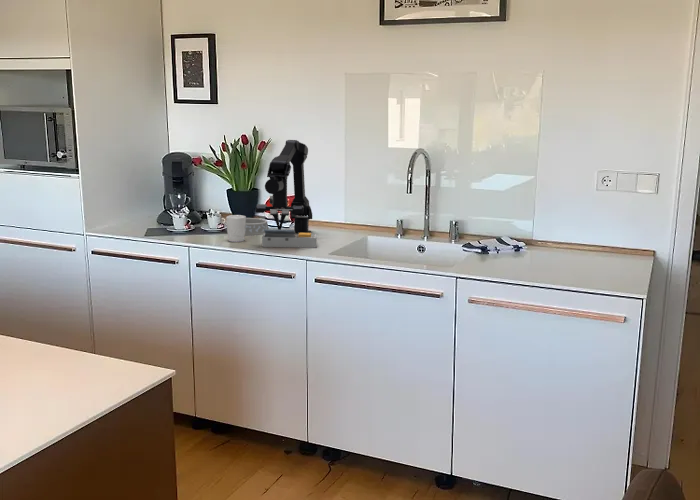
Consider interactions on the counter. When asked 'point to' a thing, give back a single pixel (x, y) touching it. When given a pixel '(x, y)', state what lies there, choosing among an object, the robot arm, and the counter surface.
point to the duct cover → (278, 231)
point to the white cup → (236, 228)
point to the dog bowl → (255, 226)
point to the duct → (288, 241)
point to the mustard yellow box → (304, 235)
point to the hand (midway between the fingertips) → (279, 230)
